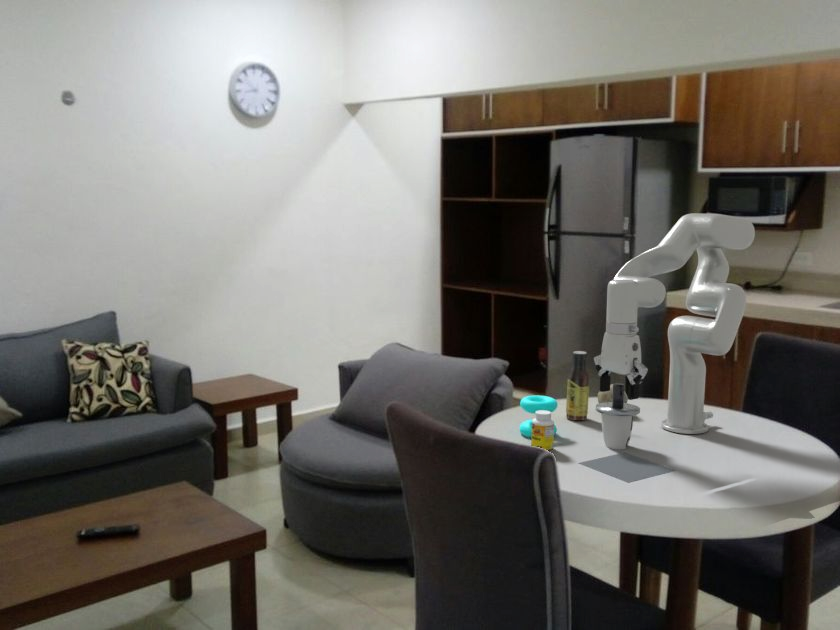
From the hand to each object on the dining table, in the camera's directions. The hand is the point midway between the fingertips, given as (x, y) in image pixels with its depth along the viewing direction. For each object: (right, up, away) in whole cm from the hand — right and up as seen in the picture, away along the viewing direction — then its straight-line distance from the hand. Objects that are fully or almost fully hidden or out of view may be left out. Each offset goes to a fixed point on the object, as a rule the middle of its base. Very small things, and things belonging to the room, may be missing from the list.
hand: (618, 395), depth 209 cm
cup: (0, -14, +2) cm, 14 cm away
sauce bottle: (-5, -10, +29) cm, 32 cm away
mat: (-2, -16, -14) cm, 22 cm away
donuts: (-19, -12, +14) cm, 26 cm away
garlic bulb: (+7, -9, +37) cm, 39 cm away
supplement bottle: (-20, -14, -1) cm, 24 cm away
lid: (0, -4, 0) cm, 4 cm away
